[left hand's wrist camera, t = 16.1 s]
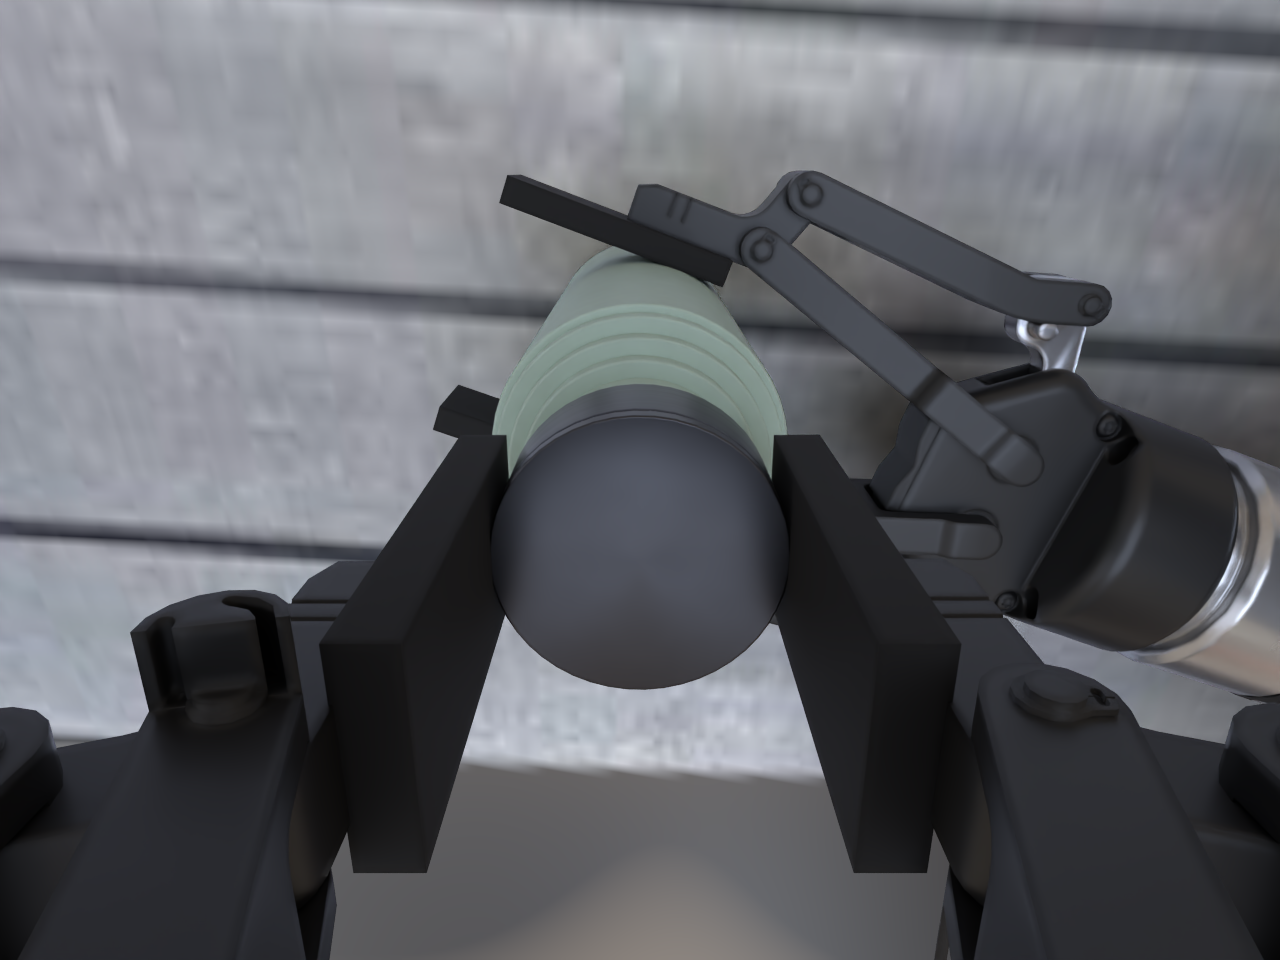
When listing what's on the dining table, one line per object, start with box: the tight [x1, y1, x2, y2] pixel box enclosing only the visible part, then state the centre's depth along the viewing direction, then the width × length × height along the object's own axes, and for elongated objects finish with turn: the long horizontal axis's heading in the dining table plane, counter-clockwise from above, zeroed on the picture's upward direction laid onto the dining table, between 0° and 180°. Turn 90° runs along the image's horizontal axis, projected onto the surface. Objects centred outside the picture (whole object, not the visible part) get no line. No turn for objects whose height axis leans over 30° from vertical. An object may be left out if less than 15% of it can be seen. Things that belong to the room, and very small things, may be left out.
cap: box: [490, 384, 790, 690], centre depth 13 cm, size 4×4×2 cm
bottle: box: [492, 246, 788, 478], centre depth 22 cm, size 6×6×20 cm
